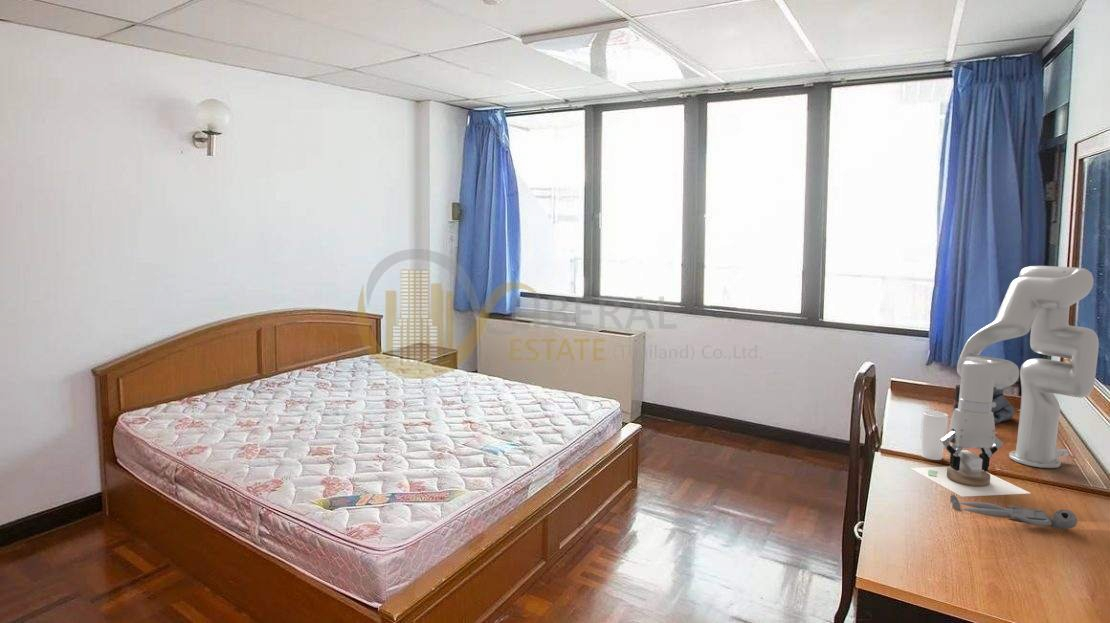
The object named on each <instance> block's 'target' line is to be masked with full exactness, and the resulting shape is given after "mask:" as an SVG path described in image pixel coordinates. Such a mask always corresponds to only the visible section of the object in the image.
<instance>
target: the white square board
mask: <svg viewBox="0 0 1110 623" xmlns="http://www.w3.org/2000/svg"><path fill="white" fill-rule="evenodd" d="M949 466H950V465H949ZM949 466H931V467H930V466H929V467H926V466H925V467H909V469H911V470H912V471H914V472H916V473H917V474H920V475H921V476H923V477H925V478H927V479H929V480H931V481H932V482H934V483H936V484H938V485H939V486H942V488H943V487H944V488H945V489H947V490H948V491H950V492H952V493H954V494H956V495H958V496H960V497H961V498H963V497H966V498H967V497H984V496H985V497H986V496H1006V495H1009V496H1010V495H1027V494H1030V495H1031V494H1032V493H1031V492H1029V491H1027V490H1025V489H1023V488H1021V487H1019V486H1017V485H1015V484H1013V483H1010V482H1008V481H1006V480H1005V479H1002V478H1000V477H999V476H996V475H995V474H994V475H993V474H991V473H989V472H988V471H986V472H987V473H989V474H990V484H989V485H987V486H971V485H965V484H961V483H958V482H955V481H953V480H951V479H949V478H948V477H947V467H949Z"/></svg>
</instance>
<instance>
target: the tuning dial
mask: <svg viewBox="0 0 1110 623" xmlns="http://www.w3.org/2000/svg"><path fill="white" fill-rule="evenodd" d="M958 456H959V457H960V468H959V471H956V470H954V469H953V468H951V466H950V465H949V467H948V466H946V467H947V477H948V478H949V479H951V480H953V481H955V482H958V483H961V484H965V485H971V486H987V485H989V484H990V474H991V473H990V474H989V472H988V471H984V470H982V460H983V459H981V458H980V457H979V455H976V454H974V453H973V452H972V451H970V450H968V449H967V450H966V449H965V450H964V449H962V450H961V452H960V454H959V455H958ZM948 463H950V459H949V460H948ZM987 472H988V473H987Z"/></svg>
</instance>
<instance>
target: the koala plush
mask: <svg viewBox="0 0 1110 623" xmlns="http://www.w3.org/2000/svg"><path fill="white" fill-rule="evenodd" d="M1005 388H1006V387H994V388H993V399H992V401H993V402H995V403H996V407H993V408H992V410H991V412H993V415H994V422H995V424H999V423H1001V422H1002V423H1003V422H1006V421H1009V420H1011V419H1013V418H1014V416H1015V410H1014V407H1013V406H1012V404H1011V403H1010V402H1009V401H1008V400H1007V399H1006V398H1005V395H1004V390H1005ZM952 408H953V409H954V403H953V405H952Z"/></svg>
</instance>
